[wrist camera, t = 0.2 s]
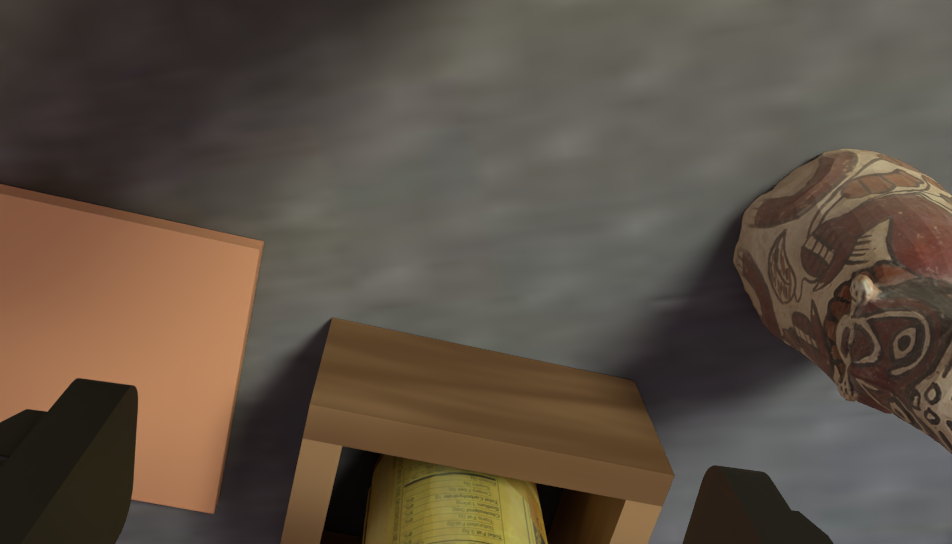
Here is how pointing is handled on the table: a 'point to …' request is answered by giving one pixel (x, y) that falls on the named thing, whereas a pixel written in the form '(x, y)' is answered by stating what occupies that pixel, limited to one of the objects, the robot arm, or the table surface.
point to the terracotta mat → (129, 328)
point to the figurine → (860, 280)
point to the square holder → (481, 430)
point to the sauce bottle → (449, 506)
